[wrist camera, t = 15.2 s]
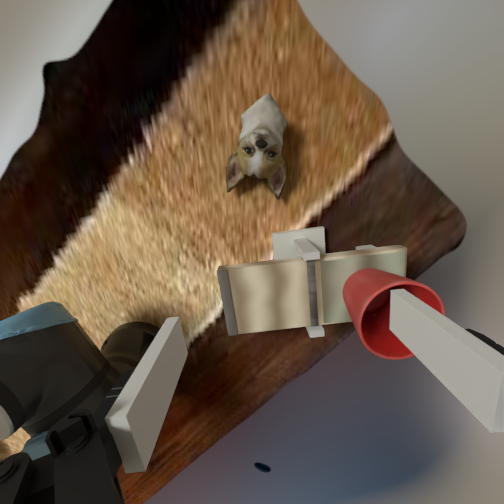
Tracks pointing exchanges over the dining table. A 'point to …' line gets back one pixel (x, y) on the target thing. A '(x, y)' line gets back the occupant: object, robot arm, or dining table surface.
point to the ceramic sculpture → (260, 147)
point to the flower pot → (381, 308)
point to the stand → (303, 253)
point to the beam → (297, 288)
